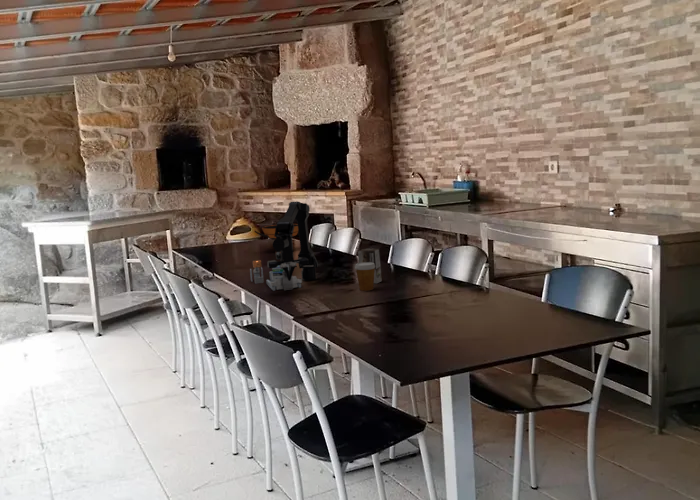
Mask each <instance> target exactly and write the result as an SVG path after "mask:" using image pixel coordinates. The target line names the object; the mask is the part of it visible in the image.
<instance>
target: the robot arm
mask: <svg viewBox="0 0 700 500" xmlns="http://www.w3.org/2000/svg"><path fill="white" fill-rule="evenodd" d="M310 209H311V208H310V205H309V204H308V203H306V202H305V203H304V202H300V201H299V200H297V201H290V202H289V203H288V208H287V209H286V211H285V213H284V216H283V217H282V218H280V219H279V220H278V222H276V224H275V225H276V229H275V235H274V237H276V239H275V240H273V242H272V247H273V249H274V250H275V251H281V253H280V252H276V253H275V259H276V260H275V259H273V260H267V262H266V263H267V266H266V267H267V268H268V269H272V268H276V267H277V266H278V265H280V268H281V269H283V270H284V272H285V274H286V276H287V278H288V281H290V280H291V277H292V276H293V273H294V270H295V269H296V268H298V267H299V269H301V272H300V273H301V274H300V275H301V279H302V281H307V282H308V281H314V280H317V279H318V278H317V277H316V276H317V275H316V274H317V273H316V268H318V266H319V265H318V264H319V263H318V260H317V258H316V256H315V252H314V250H313V249H312V248H311V246H310V237H309V228H308V221H307V220H308V218H309V216H310V211H311V210H310ZM294 221H296V222H297V223H296V224H298V231H299V234H298V238H299V246H300V251H299V253H298V255H297V259H295V257H294V246H293V237H292V234H293V231H294V224H295V223H294ZM277 260H280V261H277ZM287 264H290V265H289V272H288V267H287V266H286V265H287ZM297 264H298V267H297Z"/></svg>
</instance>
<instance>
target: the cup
mask: <svg viewBox="0 0 700 500" xmlns="http://www.w3.org/2000/svg"><path fill="white" fill-rule="evenodd" d="M293 224H294V231H293V234H292V238H294V237H295V236H297V235H299V231H298V223H293ZM275 229H276V224H272V225H271V224H270V225H266V226H262V227H261V230H262V232H263V233H261V232H258V231H256V230H254V233H256V234H257V235H259V236H261V237H263V238H268V239H270V240H273V241H274V240H275V239H276V237H274V235H275ZM276 252H280V253H281V251H276V250H275V252H274V253H275V254H276Z"/></svg>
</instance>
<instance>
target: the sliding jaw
mask: <svg viewBox="0 0 700 500" xmlns="http://www.w3.org/2000/svg"><path fill="white" fill-rule="evenodd" d="M288 272H289V271H288ZM282 275H283V277H282V278H275V282H270V285H271V286H276V287H275V290H276V291H278V290H283V291H290V290H294V289H295V288H298V287H297V283H303V279H302V278H297V275H292V277H291V280H290V281H288V278H287V276H286V274H285V272H284V271H283V272H282Z"/></svg>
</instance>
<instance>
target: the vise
mask: <svg viewBox="0 0 700 500" xmlns="http://www.w3.org/2000/svg"><path fill="white" fill-rule="evenodd" d="M263 269H264V268H263V267H260V273H256V274H254V273H253V270H252V268H249V274H250V282H253V279H254V284H263V283H264V280H265V279H264V270H263ZM260 274H261V276H260ZM265 281H266V285H267V286H268V287H269V288H270V290H272V291H273V292H274V291H276V287H275V286H271V285H270V282H273V271H272V270H271V271H269V279H266V280H265ZM296 288H302V284H301V283H297V287H296Z"/></svg>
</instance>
